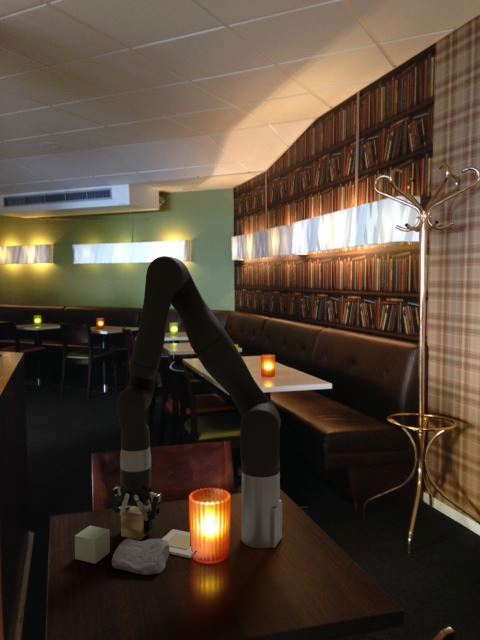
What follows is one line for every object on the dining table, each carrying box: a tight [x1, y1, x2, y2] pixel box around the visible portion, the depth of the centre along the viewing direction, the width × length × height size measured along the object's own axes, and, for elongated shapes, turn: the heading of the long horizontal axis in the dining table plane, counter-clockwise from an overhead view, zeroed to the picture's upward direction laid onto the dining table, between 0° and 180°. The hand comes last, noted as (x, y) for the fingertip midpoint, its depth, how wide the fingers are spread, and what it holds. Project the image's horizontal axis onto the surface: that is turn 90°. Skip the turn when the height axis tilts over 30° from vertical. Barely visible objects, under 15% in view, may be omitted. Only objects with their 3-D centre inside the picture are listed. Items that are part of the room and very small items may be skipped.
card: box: [161, 528, 195, 559], centre depth 126 cm, size 10×10×1 cm
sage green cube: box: [74, 525, 111, 564], centre depth 121 cm, size 6×6×6 cm
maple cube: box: [120, 506, 153, 541], centre depth 131 cm, size 6×6×6 cm
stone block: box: [111, 537, 170, 576], centre depth 118 cm, size 12×5×10 cm
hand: (136, 530), depth 132 cm, fingers closed on maple cube, 5 cm apart
